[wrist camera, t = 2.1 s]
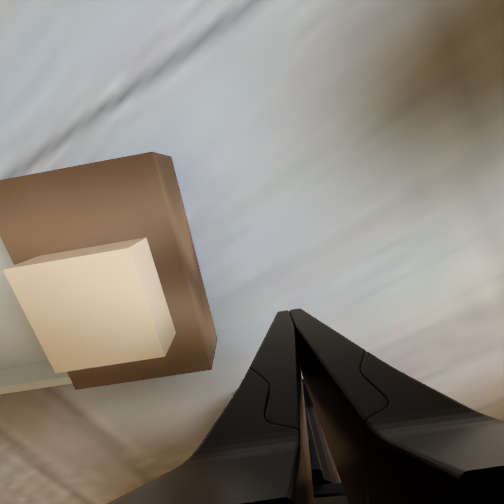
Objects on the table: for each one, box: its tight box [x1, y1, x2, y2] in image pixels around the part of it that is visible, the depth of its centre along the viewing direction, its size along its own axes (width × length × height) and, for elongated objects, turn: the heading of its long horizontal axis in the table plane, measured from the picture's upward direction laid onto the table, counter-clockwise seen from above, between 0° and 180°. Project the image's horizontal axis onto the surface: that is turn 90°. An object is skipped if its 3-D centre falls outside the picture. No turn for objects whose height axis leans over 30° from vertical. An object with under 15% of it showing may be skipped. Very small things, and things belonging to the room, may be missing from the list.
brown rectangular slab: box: [0, 152, 217, 390], centre depth 15 cm, size 13×9×3 cm
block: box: [3, 238, 176, 373], centre depth 13 cm, size 6×6×2 cm
